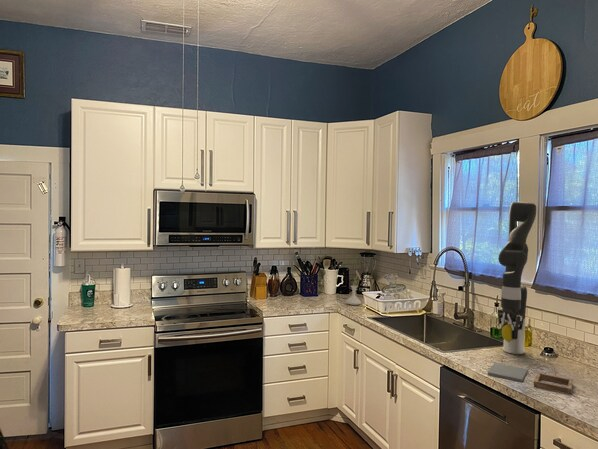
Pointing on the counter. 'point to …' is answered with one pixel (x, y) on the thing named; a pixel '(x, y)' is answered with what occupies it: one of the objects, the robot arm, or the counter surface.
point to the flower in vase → (353, 299)
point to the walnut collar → (552, 386)
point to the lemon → (507, 333)
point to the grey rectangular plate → (508, 372)
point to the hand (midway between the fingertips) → (509, 336)
